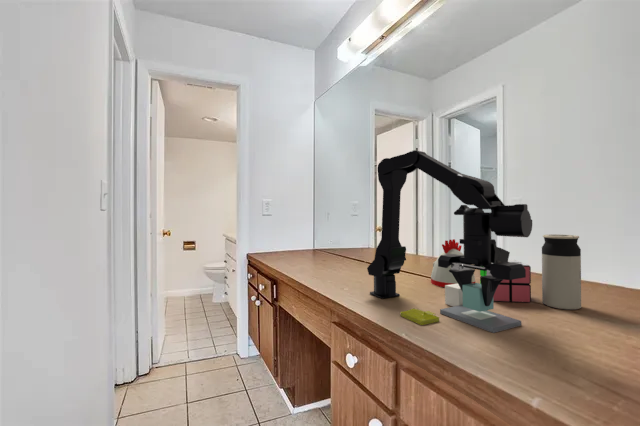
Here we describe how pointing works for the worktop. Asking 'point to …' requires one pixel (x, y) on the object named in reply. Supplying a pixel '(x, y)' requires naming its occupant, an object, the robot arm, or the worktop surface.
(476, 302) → the teal block
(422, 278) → the worktop surface
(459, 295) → the cream block
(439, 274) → the kitchen timer
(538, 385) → the worktop surface
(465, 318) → the slate plate
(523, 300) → the puzzle cube
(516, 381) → the worktop surface
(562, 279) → the travel mug
